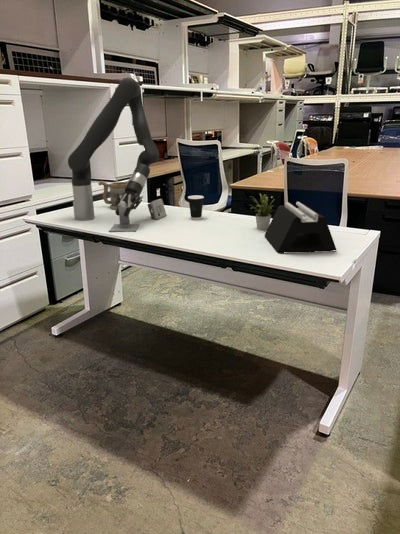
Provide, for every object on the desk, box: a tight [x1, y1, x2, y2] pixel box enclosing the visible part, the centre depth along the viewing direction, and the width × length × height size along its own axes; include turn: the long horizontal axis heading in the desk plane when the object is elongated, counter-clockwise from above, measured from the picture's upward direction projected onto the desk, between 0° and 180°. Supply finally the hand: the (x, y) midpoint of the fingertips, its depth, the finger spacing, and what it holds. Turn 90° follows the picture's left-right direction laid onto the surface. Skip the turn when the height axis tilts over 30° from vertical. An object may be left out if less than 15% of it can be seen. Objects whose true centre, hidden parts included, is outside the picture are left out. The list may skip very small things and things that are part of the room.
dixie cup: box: [187, 195, 205, 221], centre depth 208 cm, size 8×8×11 cm
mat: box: [108, 223, 140, 233], centre depth 194 cm, size 12×12×1 cm
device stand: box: [264, 201, 337, 254], centre depth 165 cm, size 22×22×15 cm
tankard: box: [98, 180, 128, 211], centre depth 236 cm, size 20×13×15 cm, turn 69°
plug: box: [118, 201, 131, 225], centre depth 191 cm, size 4×4×10 cm
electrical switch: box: [147, 198, 167, 221], centre depth 212 cm, size 9×5×9 cm, turn 152°
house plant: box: [249, 193, 276, 231], centre depth 188 cm, size 14×14×16 cm
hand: (121, 215), depth 190 cm, fingers closed on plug, 4 cm apart
